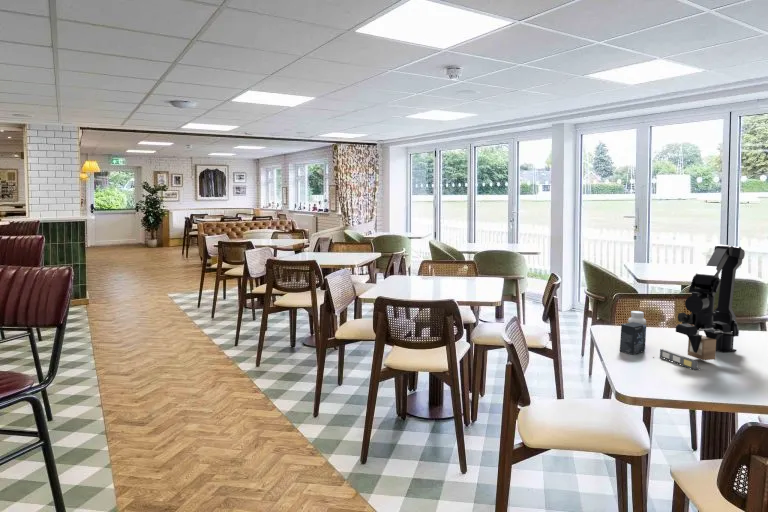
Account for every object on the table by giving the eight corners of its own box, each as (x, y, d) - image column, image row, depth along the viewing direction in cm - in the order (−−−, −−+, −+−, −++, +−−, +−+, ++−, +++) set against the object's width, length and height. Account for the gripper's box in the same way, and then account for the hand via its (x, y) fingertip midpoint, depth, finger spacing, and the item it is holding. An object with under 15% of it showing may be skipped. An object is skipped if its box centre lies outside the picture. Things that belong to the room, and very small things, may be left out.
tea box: (715, 359, 199) (716, 339, 198) (703, 360, 197) (704, 340, 197) (699, 353, 205) (700, 334, 205) (687, 354, 204) (688, 335, 203)
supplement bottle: (644, 342, 227) (646, 311, 225) (646, 346, 221) (647, 314, 219) (626, 341, 229) (627, 309, 228) (627, 345, 223) (629, 313, 221)
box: (633, 354, 209) (634, 326, 208) (619, 351, 214) (620, 323, 213) (645, 351, 214) (646, 324, 212) (631, 348, 218) (633, 321, 217)
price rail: (659, 357, 206) (659, 349, 206) (665, 356, 207) (665, 348, 207) (694, 370, 191) (694, 361, 191) (700, 369, 192) (700, 360, 191)
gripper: (707, 303, 210) (704, 344, 211) (665, 305, 205) (662, 347, 206) (733, 308, 199) (730, 352, 201) (689, 311, 194) (686, 356, 196)
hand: (701, 351), depth 201 cm, fingers closed on tea box, 5 cm apart
